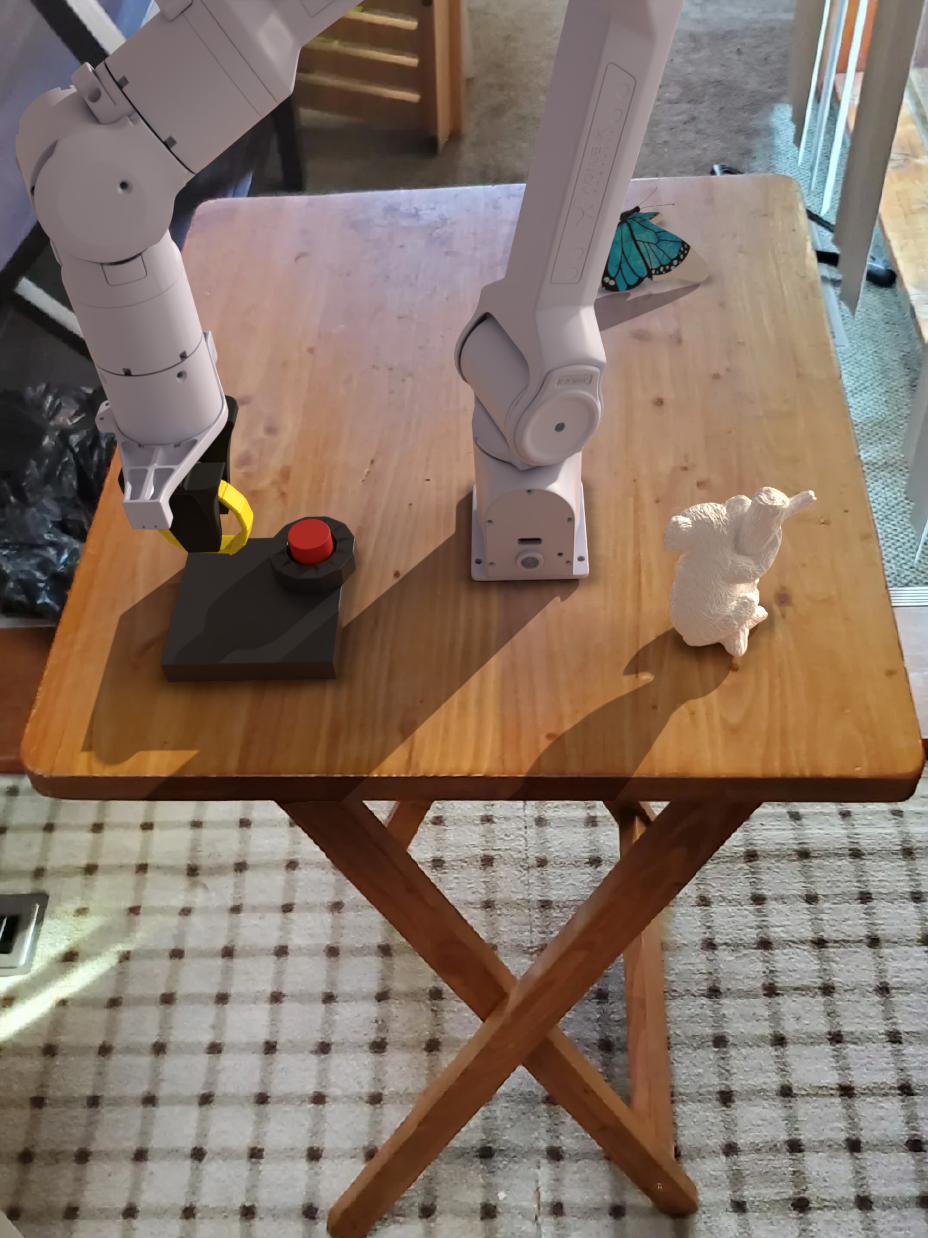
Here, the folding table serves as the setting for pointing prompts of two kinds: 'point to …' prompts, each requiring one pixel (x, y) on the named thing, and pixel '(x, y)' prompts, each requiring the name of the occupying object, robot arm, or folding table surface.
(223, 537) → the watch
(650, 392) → the folding table surface
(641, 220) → the decorative butterfly
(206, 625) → the black red button box
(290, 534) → the button
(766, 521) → the koala figurine
